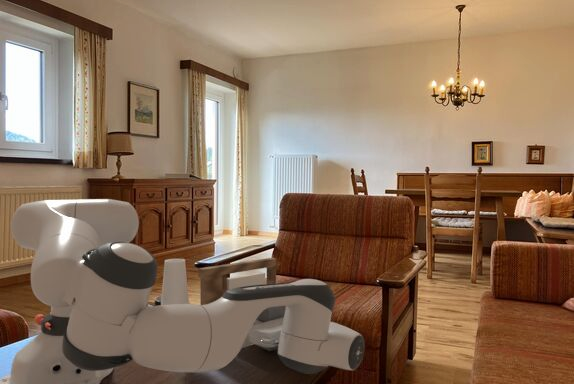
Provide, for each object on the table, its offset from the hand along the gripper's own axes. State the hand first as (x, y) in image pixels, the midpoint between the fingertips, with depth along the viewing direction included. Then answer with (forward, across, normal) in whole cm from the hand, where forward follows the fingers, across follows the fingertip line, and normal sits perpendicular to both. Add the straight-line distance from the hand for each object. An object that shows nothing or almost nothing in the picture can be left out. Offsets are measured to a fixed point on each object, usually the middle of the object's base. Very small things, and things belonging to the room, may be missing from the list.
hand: (267, 320), depth 118 cm
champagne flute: (+10, -20, -8) cm, 24 cm away
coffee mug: (+29, -13, -8) cm, 33 cm away
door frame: (+6, -4, -8) cm, 10 cm away
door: (+5, -2, -7) cm, 9 cm away
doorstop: (-1, 0, -6) cm, 6 cm away
